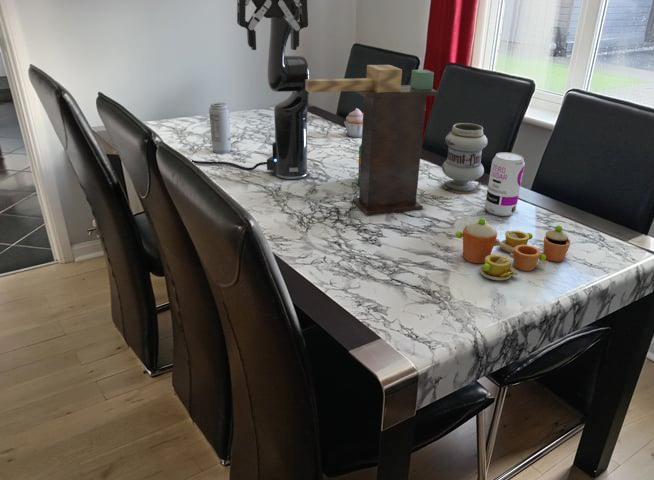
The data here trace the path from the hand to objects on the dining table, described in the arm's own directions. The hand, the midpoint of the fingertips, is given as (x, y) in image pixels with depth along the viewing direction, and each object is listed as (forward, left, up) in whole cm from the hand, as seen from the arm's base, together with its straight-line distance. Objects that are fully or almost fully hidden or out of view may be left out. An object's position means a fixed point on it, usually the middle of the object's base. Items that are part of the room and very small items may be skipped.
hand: (273, 49), depth 121 cm
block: (+27, +27, -9) cm, 39 cm away
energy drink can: (-42, +46, -40) cm, 74 cm away
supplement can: (+50, +31, -40) cm, 71 cm away
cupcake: (-9, +86, -40) cm, 95 cm away
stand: (+21, +22, -39) cm, 50 cm away
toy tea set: (+56, +2, -40) cm, 69 cm away
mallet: (+13, +15, -9) cm, 22 cm away
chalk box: (+13, +38, -40) cm, 57 cm away
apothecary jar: (+37, +45, -40) cm, 71 cm away
